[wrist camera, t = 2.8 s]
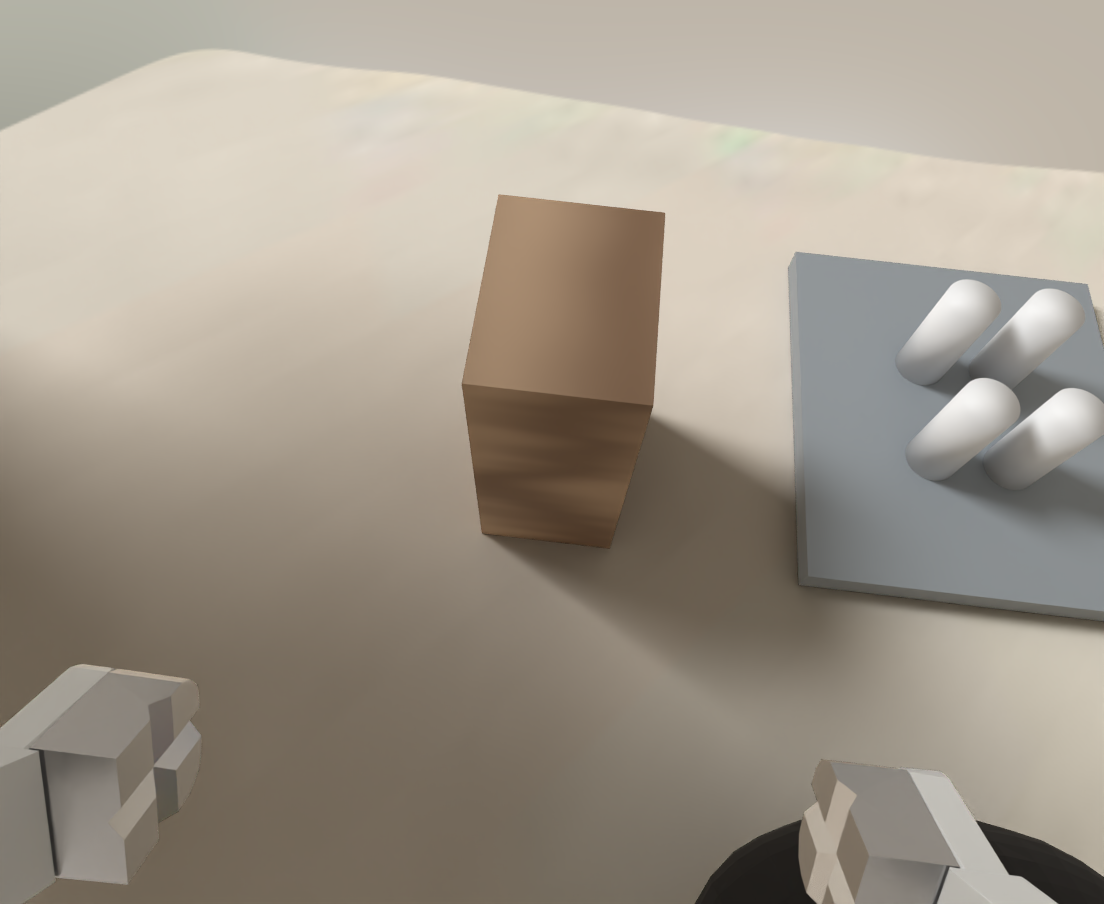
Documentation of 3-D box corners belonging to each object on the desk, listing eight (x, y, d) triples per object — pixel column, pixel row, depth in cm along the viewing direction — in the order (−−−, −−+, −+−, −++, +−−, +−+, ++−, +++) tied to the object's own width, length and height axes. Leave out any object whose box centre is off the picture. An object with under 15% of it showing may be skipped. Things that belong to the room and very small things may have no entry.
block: (482, 533, 27) (461, 383, 18) (505, 387, 30) (498, 194, 21) (609, 548, 27) (653, 405, 18) (621, 401, 29) (665, 213, 21)
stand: (798, 585, 26) (854, 534, 22) (788, 267, 33) (830, 177, 28) (1150, 626, 26) (1279, 584, 22) (1071, 299, 32) (1159, 213, 28)
